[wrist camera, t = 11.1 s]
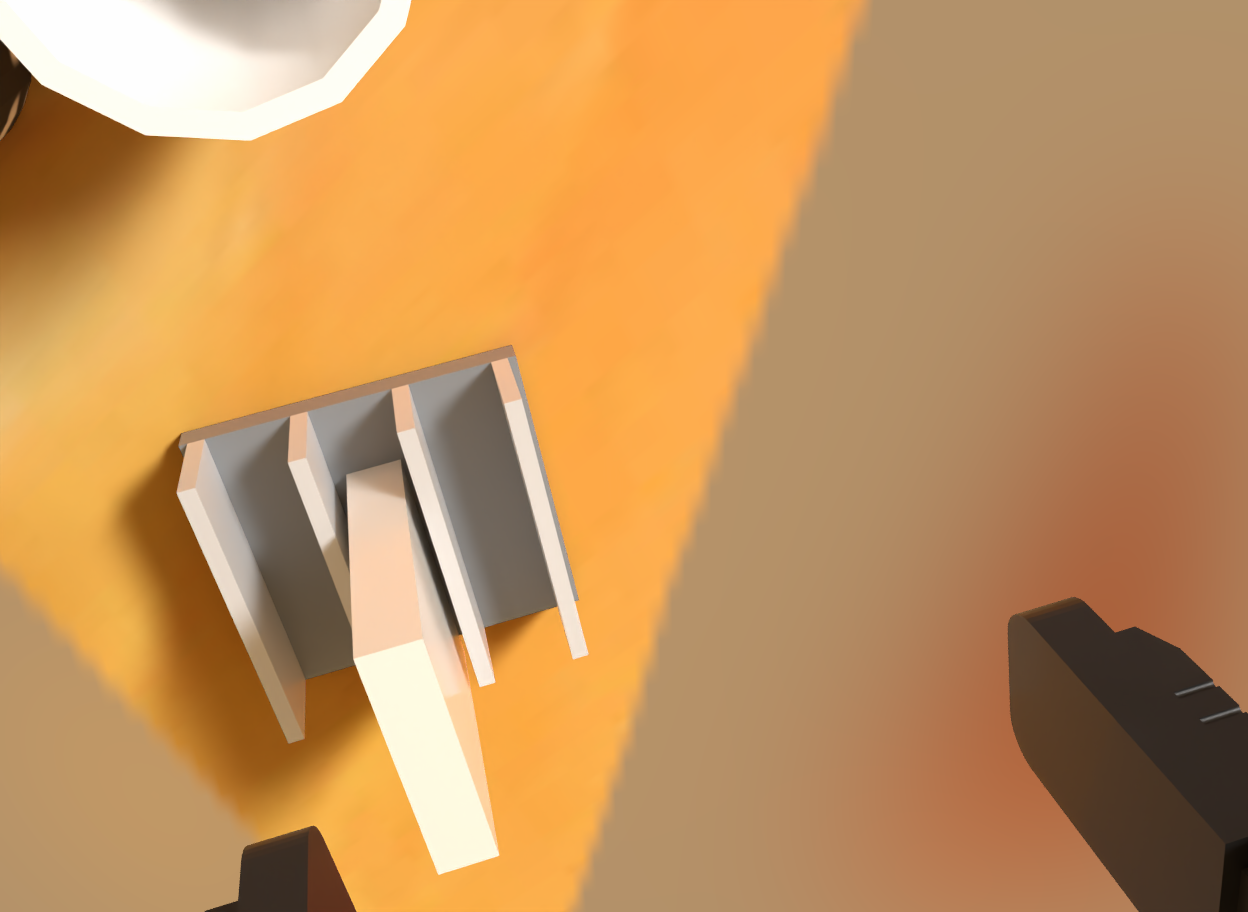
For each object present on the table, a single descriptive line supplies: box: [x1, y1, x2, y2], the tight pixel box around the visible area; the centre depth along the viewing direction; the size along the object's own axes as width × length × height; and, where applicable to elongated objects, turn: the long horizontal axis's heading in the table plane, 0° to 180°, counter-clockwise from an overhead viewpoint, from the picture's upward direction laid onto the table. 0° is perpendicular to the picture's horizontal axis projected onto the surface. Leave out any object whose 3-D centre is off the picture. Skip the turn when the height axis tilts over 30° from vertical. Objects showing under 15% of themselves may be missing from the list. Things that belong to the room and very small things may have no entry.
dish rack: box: [177, 345, 588, 744], centre depth 43 cm, size 11×12×4 cm
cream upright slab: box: [346, 459, 499, 875], centre depth 40 cm, size 9×2×11 cm, turn 11°
